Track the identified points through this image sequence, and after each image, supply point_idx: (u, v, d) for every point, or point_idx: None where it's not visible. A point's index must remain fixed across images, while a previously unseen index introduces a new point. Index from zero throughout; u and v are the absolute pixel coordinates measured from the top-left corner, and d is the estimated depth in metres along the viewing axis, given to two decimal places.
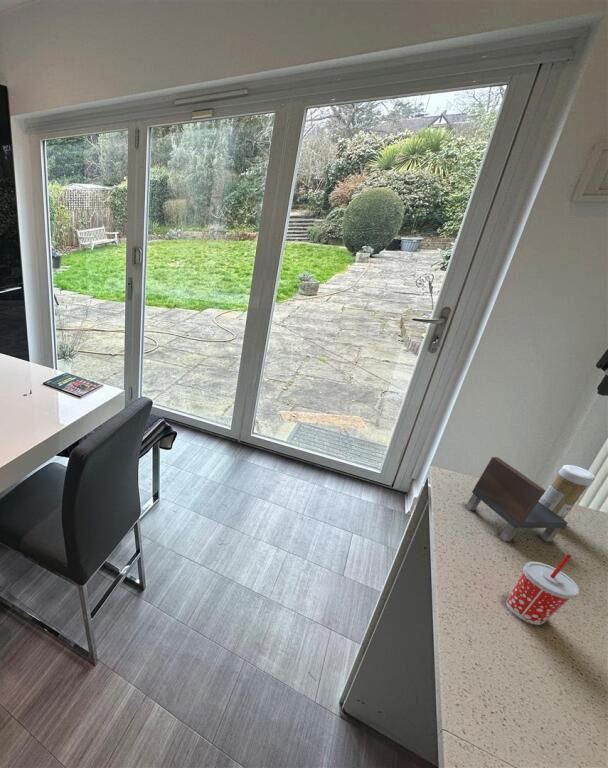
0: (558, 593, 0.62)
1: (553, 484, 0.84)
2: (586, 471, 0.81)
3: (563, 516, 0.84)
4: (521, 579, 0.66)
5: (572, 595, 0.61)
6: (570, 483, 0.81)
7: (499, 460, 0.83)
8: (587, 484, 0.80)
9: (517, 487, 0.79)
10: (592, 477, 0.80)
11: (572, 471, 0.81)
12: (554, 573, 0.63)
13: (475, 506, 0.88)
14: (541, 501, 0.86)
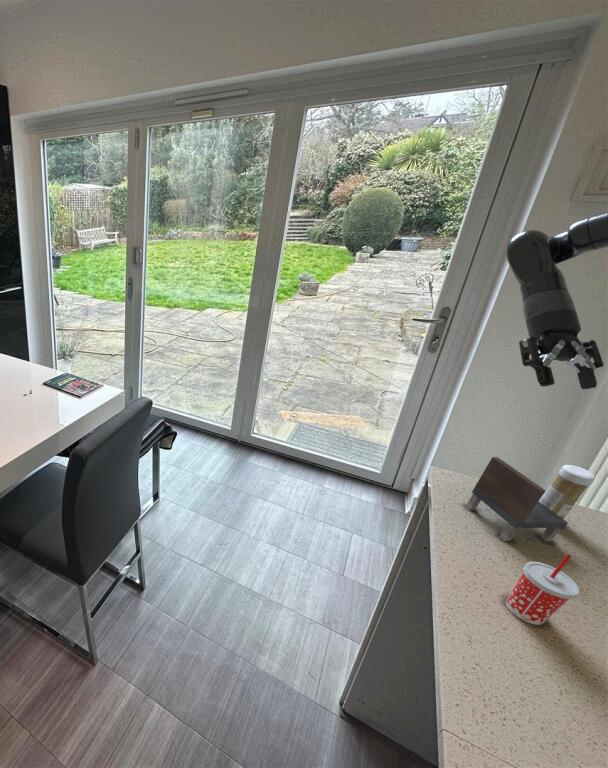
0: (558, 593, 0.62)
1: (553, 484, 0.84)
2: (586, 471, 0.81)
3: (563, 516, 0.84)
4: (521, 579, 0.66)
5: (572, 595, 0.61)
6: (570, 483, 0.81)
7: (499, 460, 0.83)
8: (587, 484, 0.80)
9: (517, 487, 0.79)
10: (592, 477, 0.80)
11: (572, 471, 0.81)
12: (554, 573, 0.63)
13: (475, 506, 0.88)
14: (541, 501, 0.86)
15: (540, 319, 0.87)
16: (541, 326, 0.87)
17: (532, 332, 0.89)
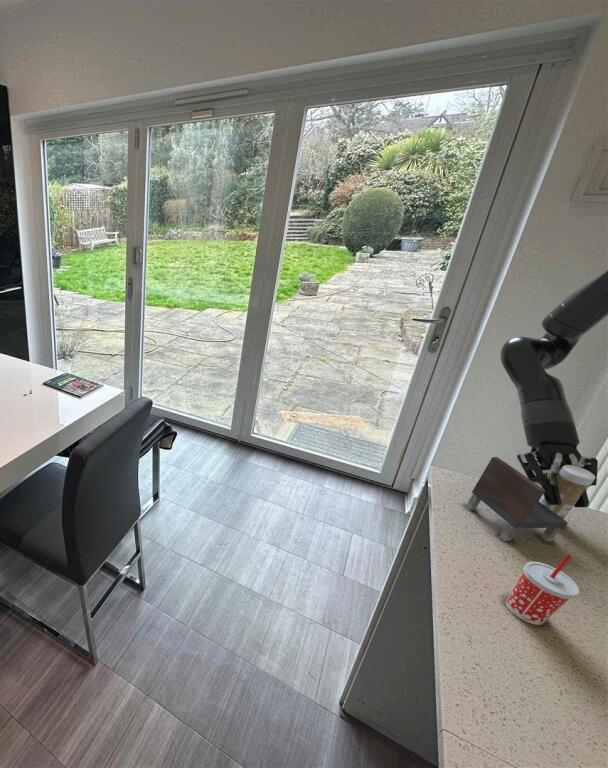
0: (558, 593, 0.62)
1: None
2: (586, 471, 0.81)
3: (563, 516, 0.84)
4: (521, 579, 0.66)
5: (572, 595, 0.61)
6: (570, 483, 0.81)
7: (499, 460, 0.83)
8: (587, 484, 0.80)
9: (517, 487, 0.79)
10: (592, 477, 0.80)
11: (572, 471, 0.81)
12: (554, 573, 0.63)
13: (475, 506, 0.88)
14: (541, 501, 0.86)
15: (536, 429, 0.87)
16: (537, 437, 0.86)
17: (530, 440, 0.88)
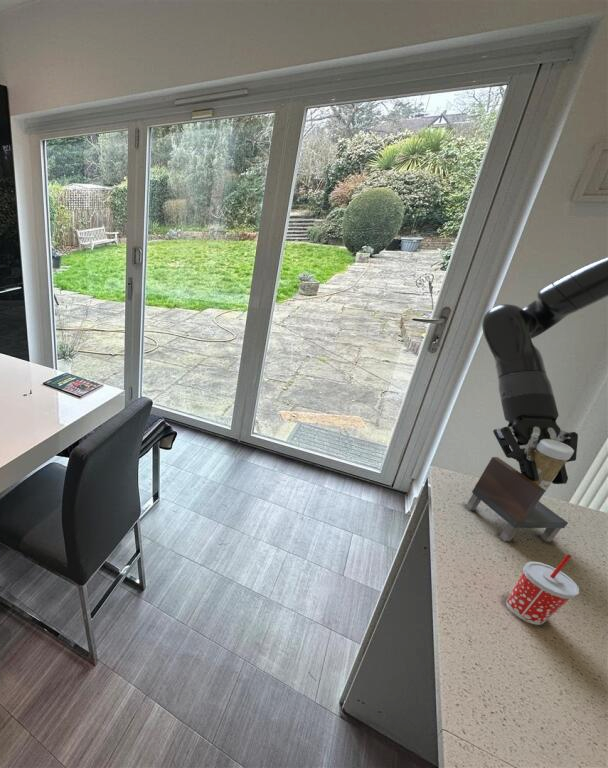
0: (558, 593, 0.62)
1: None
2: (565, 445, 0.76)
3: None
4: (521, 579, 0.66)
5: (572, 595, 0.61)
6: (547, 458, 0.76)
7: (499, 460, 0.83)
8: (565, 458, 0.75)
9: (517, 487, 0.79)
10: (571, 451, 0.75)
11: (549, 445, 0.76)
12: (554, 573, 0.63)
13: (475, 506, 0.88)
14: None
15: (514, 402, 0.82)
16: (514, 410, 0.82)
17: (507, 415, 0.83)
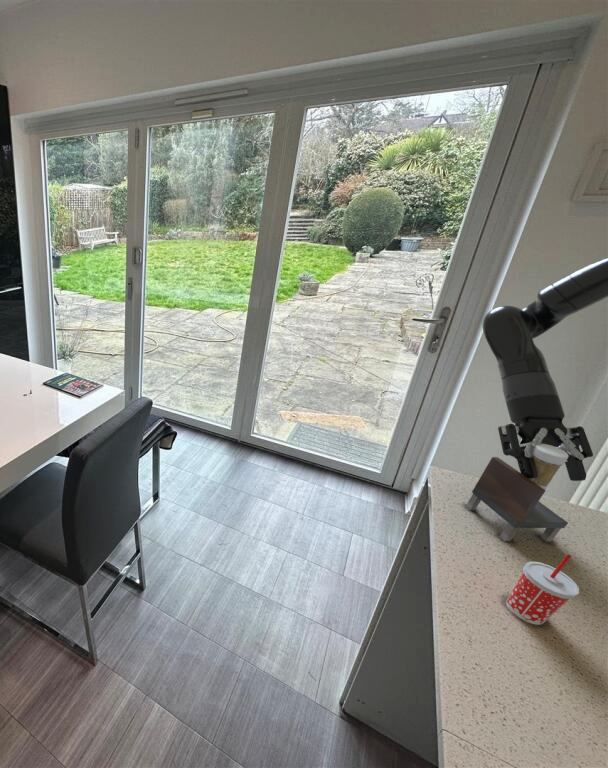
0: (558, 593, 0.62)
1: None
2: (559, 450, 0.77)
3: None
4: (521, 579, 0.66)
5: (572, 595, 0.61)
6: (542, 462, 0.77)
7: (499, 460, 0.83)
8: (560, 463, 0.76)
9: (517, 487, 0.79)
10: (565, 456, 0.76)
11: (544, 450, 0.77)
12: (554, 573, 0.63)
13: (475, 506, 0.88)
14: None
15: (519, 404, 0.82)
16: (520, 412, 0.81)
17: (513, 416, 0.83)
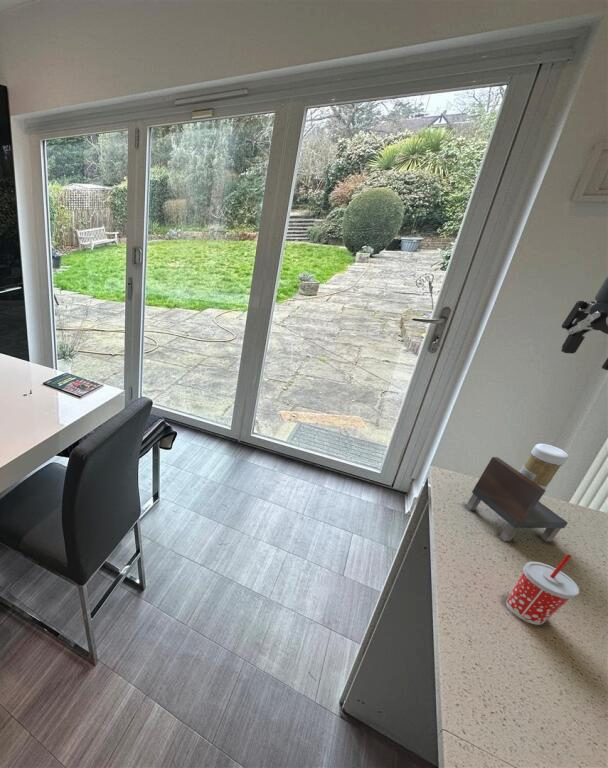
0: (558, 593, 0.62)
1: (526, 464, 0.80)
2: (559, 450, 0.77)
3: None
4: (521, 579, 0.66)
5: (572, 595, 0.61)
6: (542, 462, 0.77)
7: (499, 460, 0.83)
8: (560, 463, 0.76)
9: (517, 487, 0.79)
10: (565, 456, 0.76)
11: (544, 450, 0.77)
12: (554, 573, 0.63)
13: (475, 506, 0.88)
14: None
15: None
16: None
17: None
